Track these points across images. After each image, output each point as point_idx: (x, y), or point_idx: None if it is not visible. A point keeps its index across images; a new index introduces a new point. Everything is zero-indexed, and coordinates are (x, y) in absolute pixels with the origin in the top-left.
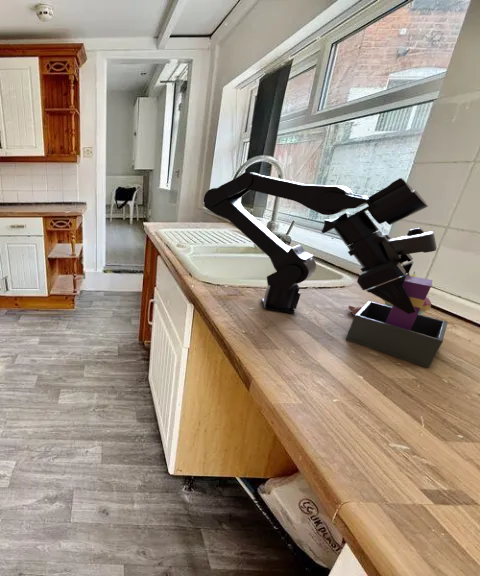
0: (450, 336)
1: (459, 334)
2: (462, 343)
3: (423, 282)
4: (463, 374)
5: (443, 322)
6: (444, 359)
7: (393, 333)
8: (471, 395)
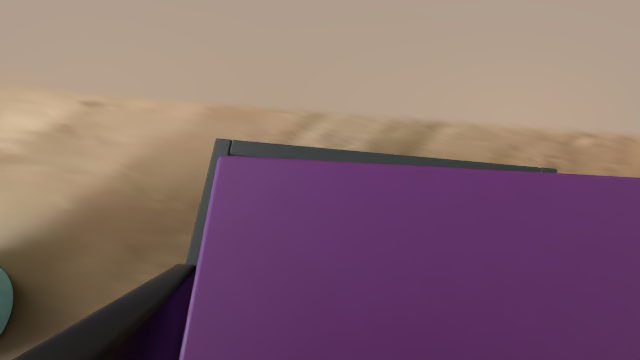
0: (86, 146)
1: (39, 122)
2: (137, 121)
3: (604, 279)
4: (430, 138)
5: (247, 153)
6: None
7: None
8: (565, 133)
